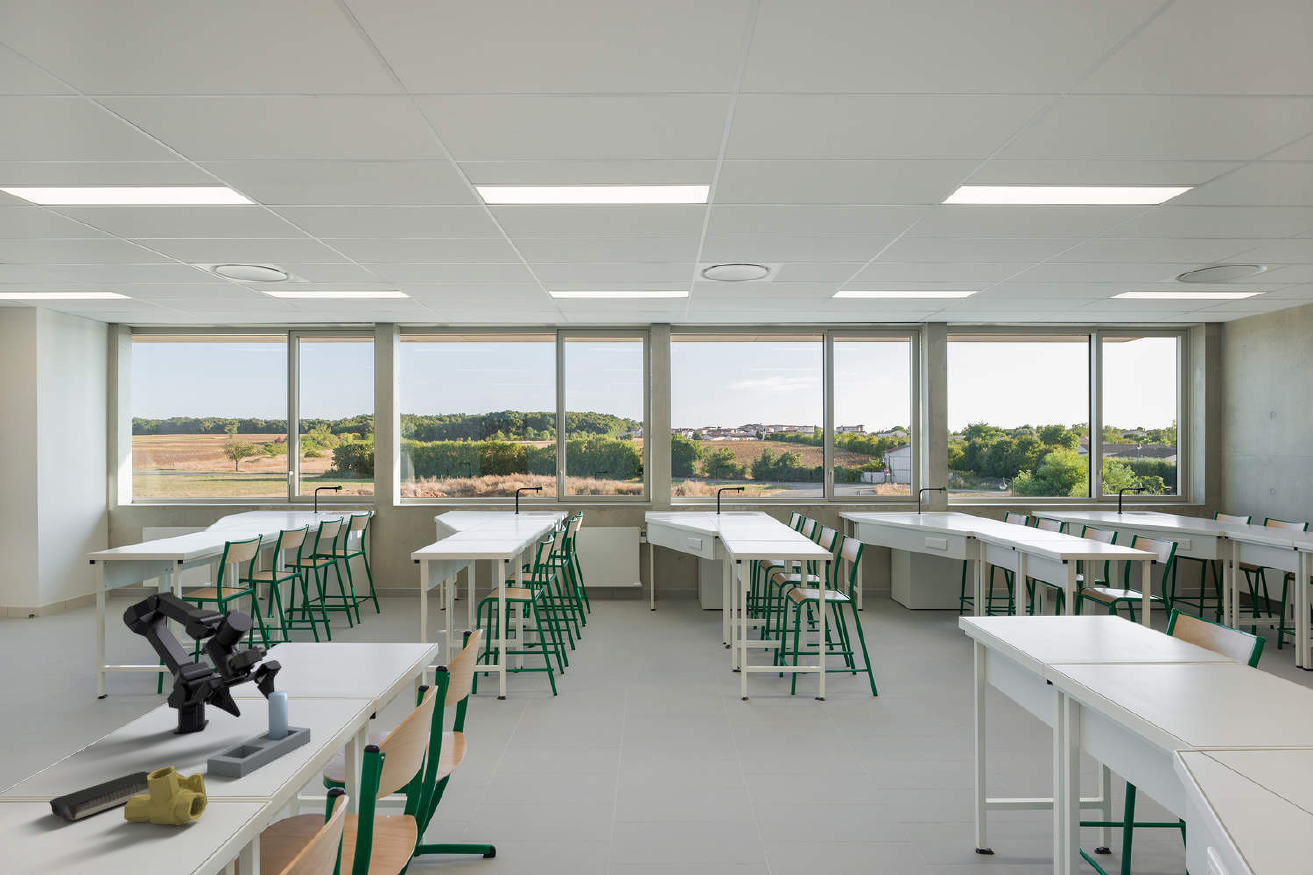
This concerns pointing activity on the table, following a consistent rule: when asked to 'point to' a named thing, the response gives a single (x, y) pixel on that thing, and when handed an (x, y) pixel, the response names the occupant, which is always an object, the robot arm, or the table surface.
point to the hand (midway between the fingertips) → (257, 709)
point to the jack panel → (256, 753)
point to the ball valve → (168, 799)
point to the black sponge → (100, 796)
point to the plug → (278, 715)
